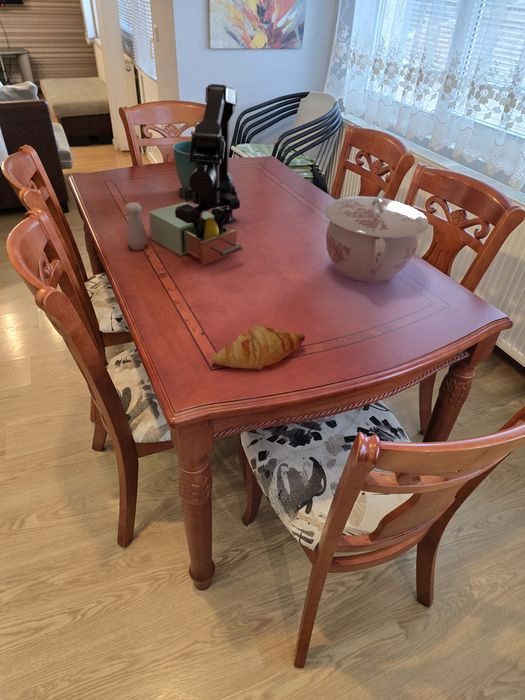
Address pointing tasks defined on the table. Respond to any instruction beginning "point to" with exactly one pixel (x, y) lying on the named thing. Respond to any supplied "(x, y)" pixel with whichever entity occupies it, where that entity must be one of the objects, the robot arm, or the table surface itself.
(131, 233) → the salt shaker
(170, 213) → the pale green box
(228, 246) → the drawer
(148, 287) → the table surface
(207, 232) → the lemon
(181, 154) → the flower pot
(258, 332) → the croissant
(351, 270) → the chamber pot
